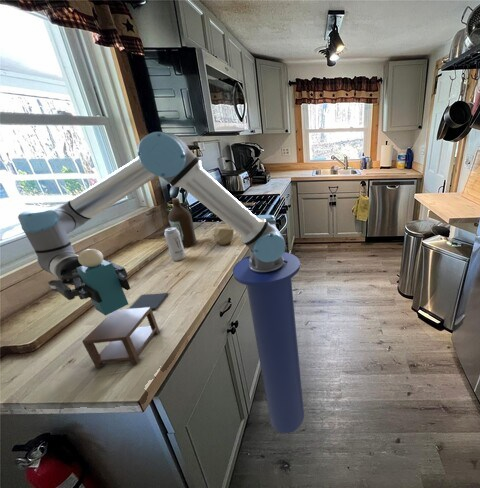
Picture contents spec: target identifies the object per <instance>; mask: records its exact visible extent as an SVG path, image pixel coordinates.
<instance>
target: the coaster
mask: <svg viewBox="0 0 480 488" xmlns="http://www.w3.org/2000/svg"><path fill="white" fill-rule="evenodd" d="M168 295H169V294H168V292H164V293H151V294H141V295H140V296H139V297H138V298H137V300H136V301H134V303H132V305H131V306H130V307H129V308H128V309H133V308H145V307H151V309H152V311H155V310H157V309H158V308H159V306H160V305H161V304H162V302H164V300H165V299H166V298H167V296H168Z"/></svg>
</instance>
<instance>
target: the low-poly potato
mask: <svg viewBox="0 0 480 488" xmlns="http://www.w3.org/2000/svg"><path fill="white" fill-rule="evenodd" d="M234 234H235V233H234V229H232V228H231V227H230V226H229V225H227V224H226V225H225V224H224V225H222V226H219V227H215V229H214V232H213V234H212V237H213V238H214V241H215V242H216V243H218V244H219V245H221V246H225V245H228V244H231V242H232V240H233V237H234V236H235V235H234Z"/></svg>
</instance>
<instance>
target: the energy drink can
mask: <svg viewBox="0 0 480 488" xmlns="http://www.w3.org/2000/svg"><path fill="white" fill-rule="evenodd" d="M163 234H164V238H165V241H166V245H167V248H168V251H169V255H170V258H171V259H172V260H173V261H175V262H177V261H178V262H179V261H182V260H184V259H185V257H186V251H185V247H183V244H182V240H181V237H180V233H179V231H178V230H177V228H176V227H171V226H170V227H167V228H165V229H164V233H163Z"/></svg>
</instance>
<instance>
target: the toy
mask: <svg viewBox="0 0 480 488" xmlns="http://www.w3.org/2000/svg"><path fill="white" fill-rule="evenodd" d="M78 255H79V256H78V261H79V263H80V264H81V265H83V266H81V267H78V268H77V271H78V273H79V275H80V277H81V279H82V281H83V283H84V285H85V284H86V285H88V286H89V287H91V288H93V289H94V290H96V291H98V293H99V295H100V297H101V299H102V302H100V303H98V302H96V301H94V300H93V299H91V298H90V300H91V302H92V304H93V306H94V308H95V310H96V311H98V312H99V313H100V314H102V315H104V316H106V317H107V316H108V315H109V314H110V313H112V312H114V311H116V310H121V309H122V308H125V307H126V306H128V305H129V301H128V300H127V297H126V294H125V292H124V288H122V287H121V284H120V282H119V279H118V277H117V274H116V272H115V270H114V267H113V265H112V263H113V262H112V263H110V262H108V261H109V260H105V259H104V254H103V253H102V252H101V251H100V250H98V249H95V248H87V249H84V250H82V251H81V252H80V253H79V254H78Z"/></svg>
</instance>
